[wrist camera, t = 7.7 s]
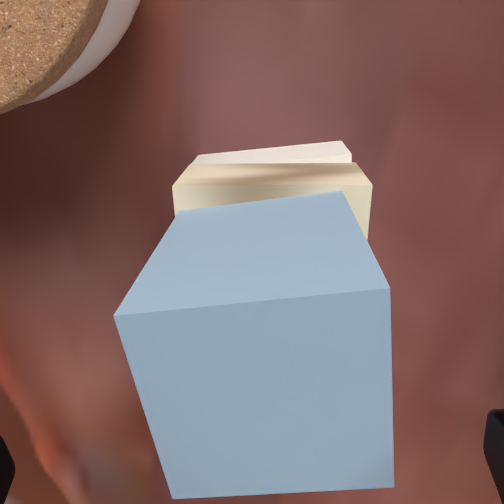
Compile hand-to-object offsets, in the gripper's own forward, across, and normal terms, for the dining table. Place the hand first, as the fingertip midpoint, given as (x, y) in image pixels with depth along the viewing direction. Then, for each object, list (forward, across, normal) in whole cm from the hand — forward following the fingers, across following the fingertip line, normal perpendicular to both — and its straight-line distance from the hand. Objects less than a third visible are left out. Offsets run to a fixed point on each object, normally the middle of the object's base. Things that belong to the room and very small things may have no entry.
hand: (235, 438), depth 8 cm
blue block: (+7, -1, 0) cm, 7 cm away
